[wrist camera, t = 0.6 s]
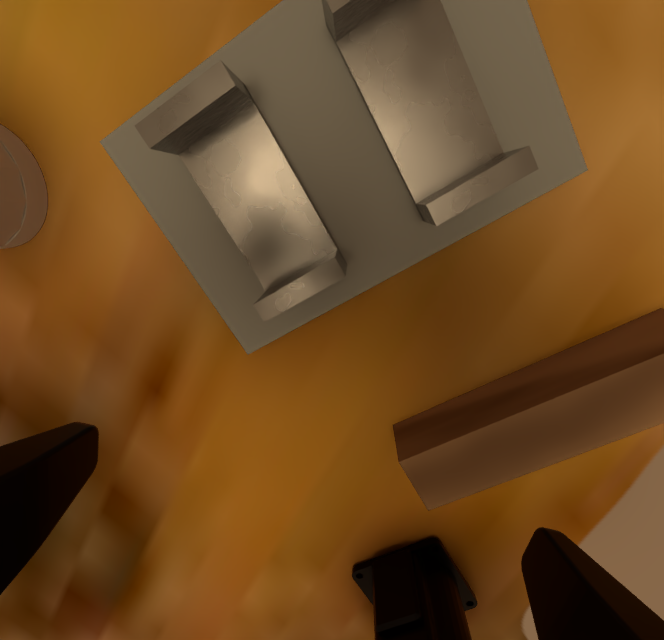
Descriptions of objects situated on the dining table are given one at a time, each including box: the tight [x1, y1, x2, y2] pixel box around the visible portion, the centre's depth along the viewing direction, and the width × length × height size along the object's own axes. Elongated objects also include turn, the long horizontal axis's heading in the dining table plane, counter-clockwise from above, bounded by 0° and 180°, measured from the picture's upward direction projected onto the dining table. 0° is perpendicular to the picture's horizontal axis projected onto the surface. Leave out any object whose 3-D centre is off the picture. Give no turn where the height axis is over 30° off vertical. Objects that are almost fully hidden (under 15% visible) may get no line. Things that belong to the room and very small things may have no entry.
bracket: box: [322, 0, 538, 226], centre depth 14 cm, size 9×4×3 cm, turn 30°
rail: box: [393, 308, 664, 511], centre depth 19 cm, size 4×15×4 cm, turn 120°
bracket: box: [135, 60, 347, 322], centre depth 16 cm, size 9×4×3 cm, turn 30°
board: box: [100, 0, 588, 354], centre depth 17 cm, size 12×18×1 cm, turn 120°
